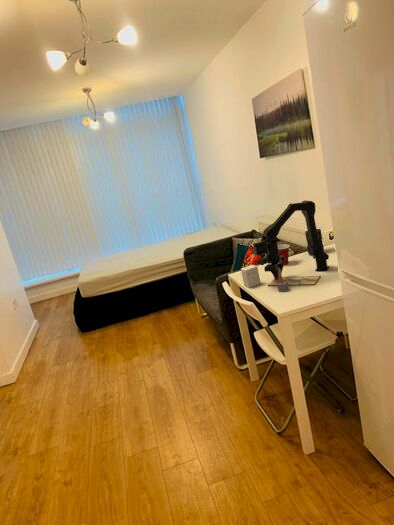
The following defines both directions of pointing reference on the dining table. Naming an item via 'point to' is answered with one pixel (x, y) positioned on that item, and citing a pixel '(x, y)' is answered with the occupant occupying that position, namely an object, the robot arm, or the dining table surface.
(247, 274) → the small box
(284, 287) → the die
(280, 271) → the pawn
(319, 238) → the storage jar
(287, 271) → the dining table surface
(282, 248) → the plastic cup
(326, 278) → the dining table surface
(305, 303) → the dining table surface
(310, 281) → the board
